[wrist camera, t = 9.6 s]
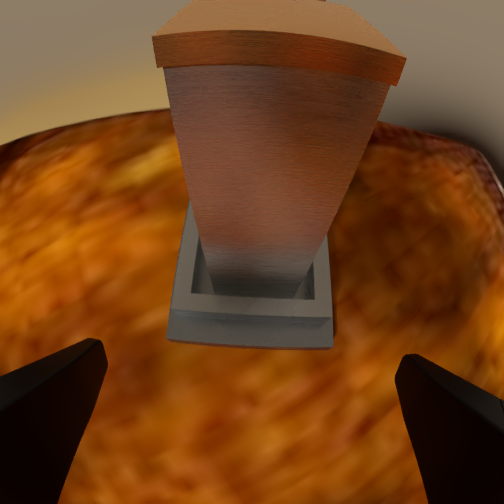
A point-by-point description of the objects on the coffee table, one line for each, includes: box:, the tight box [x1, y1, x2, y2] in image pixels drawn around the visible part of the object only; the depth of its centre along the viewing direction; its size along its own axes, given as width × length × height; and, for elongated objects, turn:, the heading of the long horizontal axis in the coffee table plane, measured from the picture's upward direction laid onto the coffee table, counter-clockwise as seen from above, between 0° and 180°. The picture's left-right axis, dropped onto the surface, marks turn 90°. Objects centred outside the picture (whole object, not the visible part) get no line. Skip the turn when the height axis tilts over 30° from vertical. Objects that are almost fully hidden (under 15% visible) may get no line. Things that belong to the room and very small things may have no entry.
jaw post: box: [152, 0, 407, 295], centre depth 12 cm, size 5×5×15 cm
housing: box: [166, 0, 333, 350], centre depth 14 cm, size 20×10×16 cm, turn 177°
